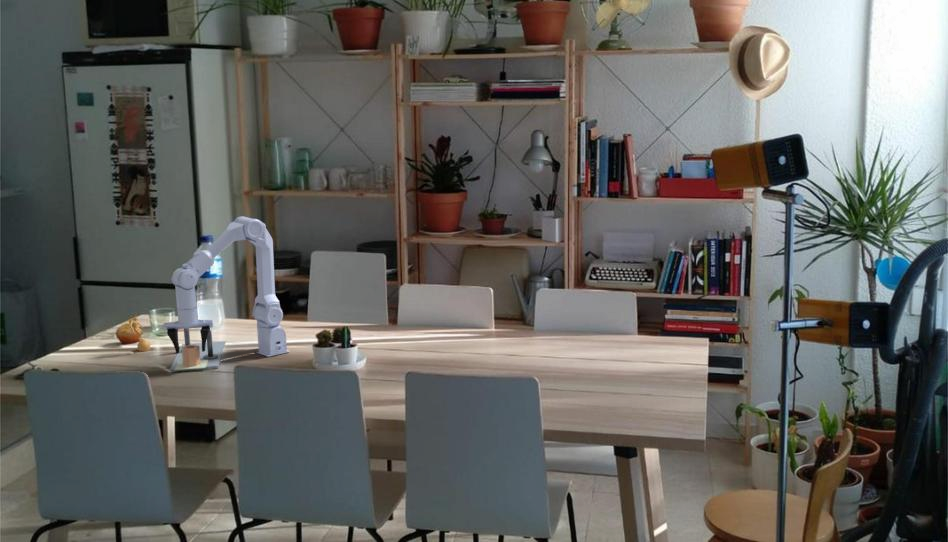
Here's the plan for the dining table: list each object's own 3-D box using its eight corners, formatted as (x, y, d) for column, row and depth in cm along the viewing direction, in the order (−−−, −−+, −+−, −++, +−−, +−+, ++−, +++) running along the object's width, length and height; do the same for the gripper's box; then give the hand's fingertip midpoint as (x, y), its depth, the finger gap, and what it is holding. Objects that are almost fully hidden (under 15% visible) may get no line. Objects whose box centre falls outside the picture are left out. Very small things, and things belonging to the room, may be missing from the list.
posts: (178, 351, 326) (176, 323, 324) (190, 348, 329) (188, 320, 327) (208, 360, 314) (206, 331, 313) (220, 357, 318) (218, 328, 316)
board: (182, 346, 335) (182, 343, 335) (226, 343, 337) (225, 341, 337) (170, 371, 306) (169, 369, 306) (217, 368, 308) (217, 365, 308)
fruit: (148, 335, 346) (141, 318, 341) (141, 352, 340) (134, 335, 335) (125, 335, 347) (118, 318, 341) (117, 352, 341) (110, 335, 336)
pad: (178, 362, 314) (178, 361, 314) (208, 360, 315) (208, 359, 315) (174, 370, 305) (174, 369, 305) (205, 368, 306) (205, 367, 306)
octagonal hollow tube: (203, 362, 311) (202, 345, 310) (193, 367, 307) (192, 349, 306) (189, 361, 313) (188, 344, 312) (179, 365, 309) (178, 348, 308)
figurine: (146, 355, 325) (143, 319, 323) (127, 356, 325) (124, 319, 323) (154, 348, 333) (151, 313, 331) (136, 349, 333) (132, 313, 331)
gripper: (213, 303, 311) (216, 346, 314) (164, 306, 310) (168, 349, 312) (210, 308, 305) (214, 352, 307) (160, 311, 303) (164, 355, 305)
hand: (190, 351), depth 309 cm, fingers open, 7 cm apart
